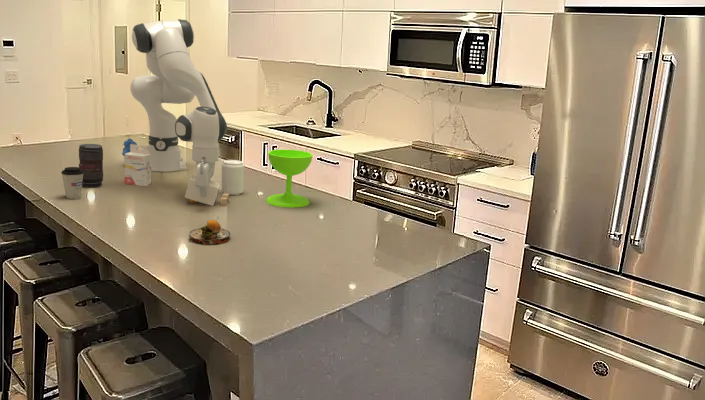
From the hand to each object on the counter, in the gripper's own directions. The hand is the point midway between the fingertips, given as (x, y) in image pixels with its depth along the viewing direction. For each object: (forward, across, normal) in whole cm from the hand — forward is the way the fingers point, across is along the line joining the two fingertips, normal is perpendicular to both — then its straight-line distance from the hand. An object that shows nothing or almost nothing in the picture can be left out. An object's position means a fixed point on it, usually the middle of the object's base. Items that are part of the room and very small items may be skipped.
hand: (204, 194), depth 209 cm
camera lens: (+4, +17, +43) cm, 46 cm away
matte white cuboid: (+2, 0, +2) cm, 2 cm away
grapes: (+3, +52, +38) cm, 65 cm away
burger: (+4, -38, -6) cm, 39 cm away
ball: (+1, 0, +4) cm, 4 cm away
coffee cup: (+4, 0, +44) cm, 44 cm away
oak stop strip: (+3, +1, -7) cm, 8 cm away
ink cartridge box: (+4, +23, +28) cm, 36 cm away
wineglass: (+4, +7, -29) cm, 30 cm away
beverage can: (+4, +16, -8) cm, 18 cm away
